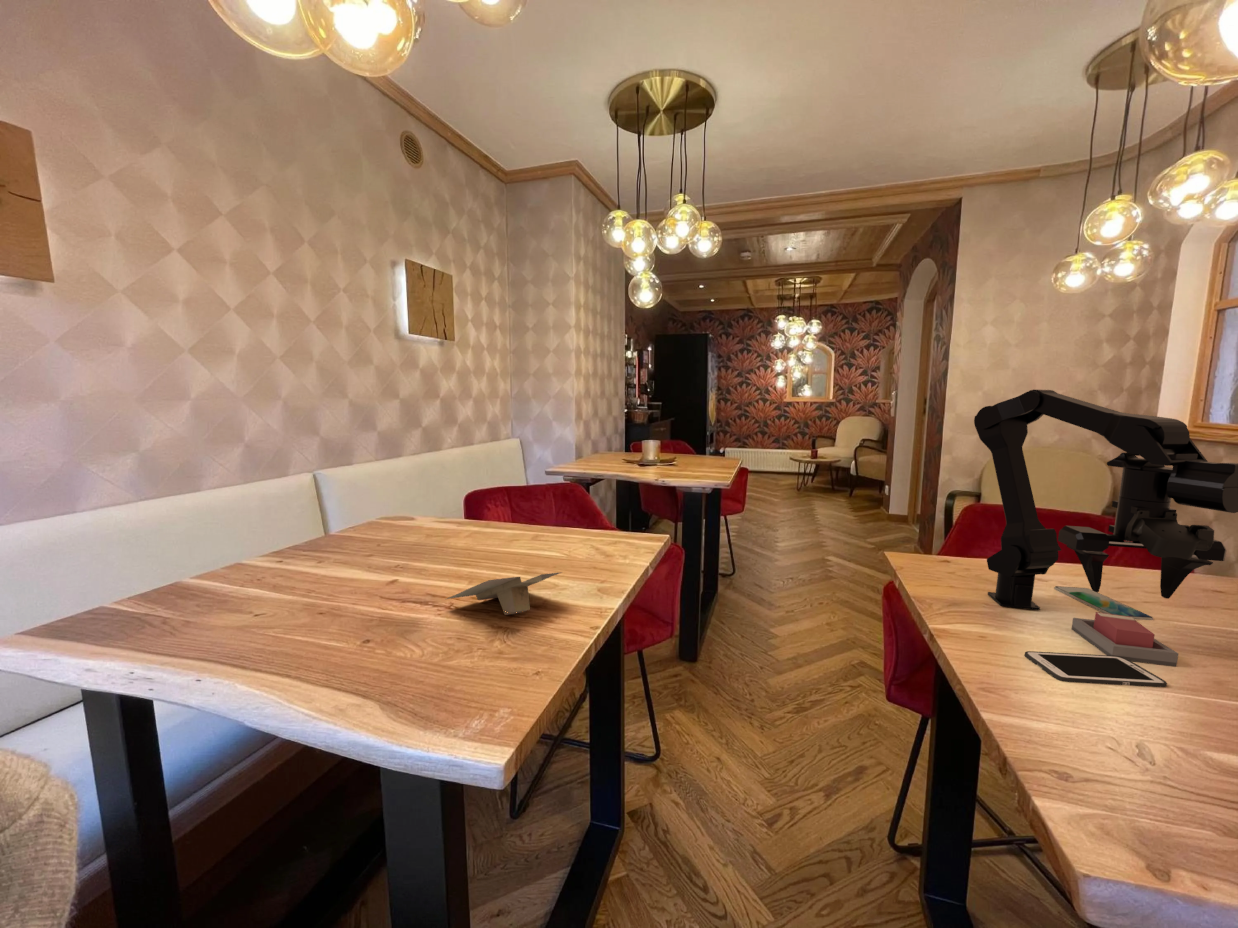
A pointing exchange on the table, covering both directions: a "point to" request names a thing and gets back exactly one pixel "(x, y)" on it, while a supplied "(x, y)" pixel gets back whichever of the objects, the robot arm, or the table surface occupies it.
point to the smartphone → (1102, 602)
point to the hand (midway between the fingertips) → (1129, 594)
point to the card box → (1123, 630)
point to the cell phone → (1094, 669)
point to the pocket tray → (1137, 654)
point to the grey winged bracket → (505, 592)
